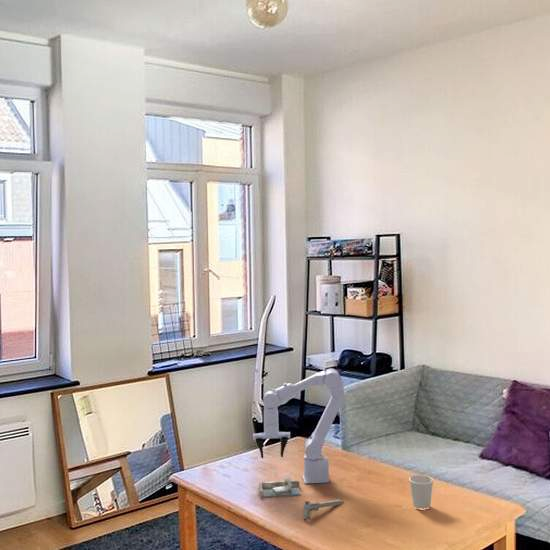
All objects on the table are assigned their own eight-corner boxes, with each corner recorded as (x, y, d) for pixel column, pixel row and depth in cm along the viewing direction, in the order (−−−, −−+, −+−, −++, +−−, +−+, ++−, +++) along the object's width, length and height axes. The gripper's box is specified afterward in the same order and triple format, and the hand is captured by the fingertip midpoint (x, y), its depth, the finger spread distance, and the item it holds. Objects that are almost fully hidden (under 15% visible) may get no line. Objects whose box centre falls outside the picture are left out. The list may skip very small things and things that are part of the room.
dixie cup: (437, 505, 232) (436, 477, 231) (429, 513, 224) (429, 484, 224) (413, 500, 236) (413, 473, 235) (406, 509, 229) (405, 480, 228)
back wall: (299, 486, 252) (299, 480, 252) (299, 487, 251) (299, 480, 251) (259, 488, 251) (259, 482, 251) (260, 489, 250) (260, 483, 250)
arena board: (298, 487, 251) (298, 486, 251) (301, 495, 243) (301, 493, 243) (261, 489, 250) (261, 488, 250) (263, 497, 242) (263, 496, 242)
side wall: (261, 489, 250) (261, 483, 250) (263, 497, 242) (262, 490, 242) (258, 489, 250) (258, 483, 250) (260, 497, 242) (260, 491, 242)
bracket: (287, 488, 249) (287, 476, 249) (291, 491, 246) (291, 480, 245) (272, 490, 247) (272, 478, 247) (276, 494, 244) (275, 482, 243)
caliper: (305, 521, 222) (304, 502, 221) (302, 520, 222) (302, 501, 222) (344, 503, 236) (343, 485, 236) (341, 502, 237) (341, 485, 237)
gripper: (288, 418, 263) (289, 452, 264) (252, 420, 262) (252, 454, 262) (290, 423, 256) (291, 458, 257) (253, 425, 255) (254, 460, 255)
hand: (272, 456), depth 259 cm, fingers open, 7 cm apart
